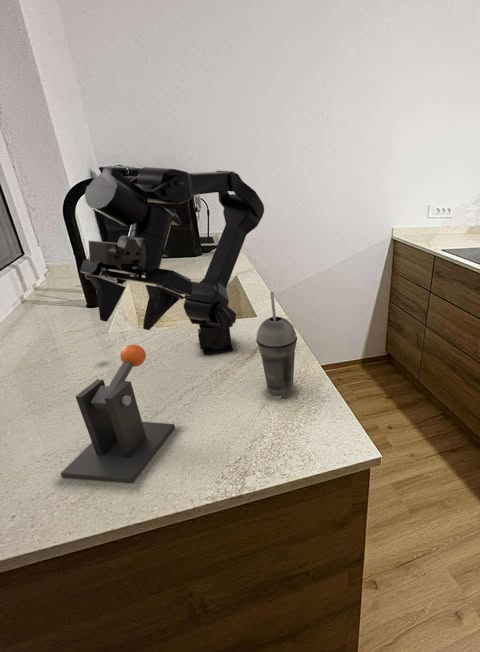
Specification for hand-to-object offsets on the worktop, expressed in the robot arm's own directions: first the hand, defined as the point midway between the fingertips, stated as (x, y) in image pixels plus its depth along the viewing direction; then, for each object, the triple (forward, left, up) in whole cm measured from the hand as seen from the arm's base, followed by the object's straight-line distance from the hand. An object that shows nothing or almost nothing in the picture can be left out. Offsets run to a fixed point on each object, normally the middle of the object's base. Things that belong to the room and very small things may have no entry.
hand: (124, 325), depth 65 cm
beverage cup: (-24, +8, -15) cm, 29 cm away
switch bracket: (+2, +16, -15) cm, 22 cm away
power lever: (0, +12, -4) cm, 13 cm away
